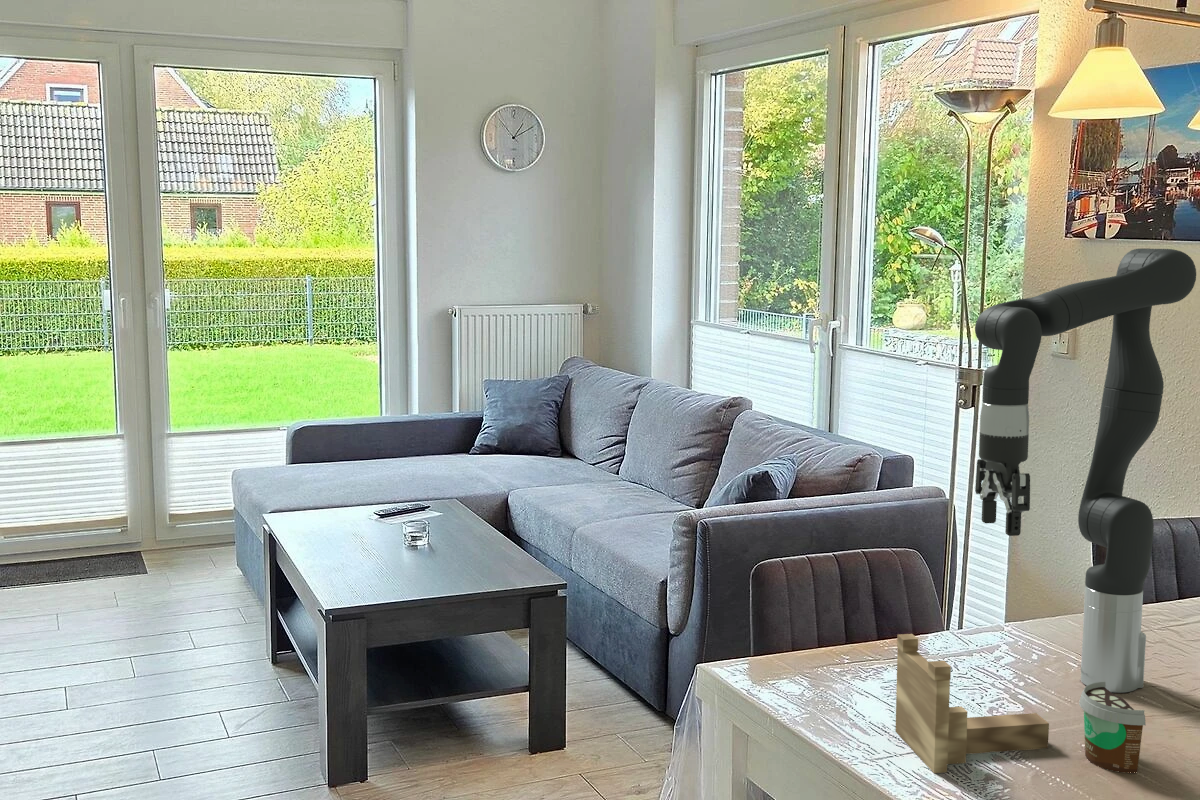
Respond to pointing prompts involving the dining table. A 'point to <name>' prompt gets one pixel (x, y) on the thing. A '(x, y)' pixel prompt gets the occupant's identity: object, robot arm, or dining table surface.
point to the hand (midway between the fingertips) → (1000, 528)
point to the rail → (1006, 733)
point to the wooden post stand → (928, 708)
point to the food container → (1111, 729)
